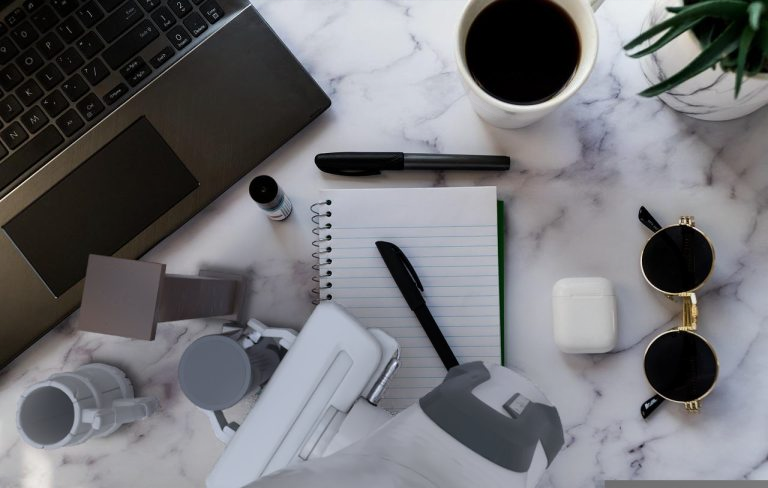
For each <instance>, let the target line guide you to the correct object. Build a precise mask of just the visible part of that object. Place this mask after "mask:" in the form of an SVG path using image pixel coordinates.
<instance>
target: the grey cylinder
mask: <svg viewBox="0 0 768 488" xmlns="http://www.w3.org/2000/svg"><path fill="white" fill-rule="evenodd" d="M242 331H243V329H238V330H233V331H228V332H222V331H221V332H217V333H213V334H206V335H204V336H201V337H199V338H197V339H196V340H194V341H192V343H190V344H189V345H188V346H187V347H186V349H185V350H184V351H183V353H182V355H181V357H180V360H179V364H178V371H177V373H178V375H177V376H178V382H179V385H180V388H181V391H182V393H183V394H184V396H185V397H186V398H187V400H189V401H190V402H191V403H192V404H193V405H194V406H195V405H196V406H198V407H200V408H202V409H205V410H209V411H220V410H222V411H224V410H227V409H230V408H232V407H234V406H236V405H237V404H239V403H241V402H243V401H245V400H246V399H248V398H250V397H252V396H255V395H254V394H256V393H258V392H259V391H261V390H263V389H264V387H265V386H266V384H267V383H268V381H269V380H270V378H271V377H272V375H273V373H274V372H275V370H276V369H277V367H278V366H279V364H280V363H281V353H280V349H279V347H278V345H277V343H276V341H275V340H274V339H273V338H272V337H267V336H265V337H264V338H263V340H262V341H261V342H258V343H255V342H253V341H252V340H251V339H250V338H249V336H245V335H243V334H242Z"/></svg>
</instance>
